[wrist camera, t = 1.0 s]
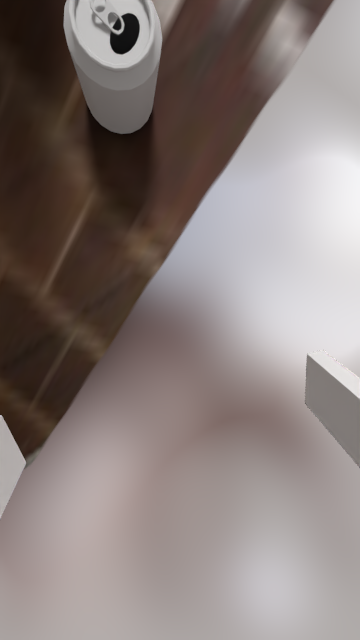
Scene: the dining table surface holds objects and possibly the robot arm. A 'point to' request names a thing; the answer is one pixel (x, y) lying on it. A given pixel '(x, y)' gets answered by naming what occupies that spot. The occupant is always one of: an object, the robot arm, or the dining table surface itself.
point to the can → (115, 58)
